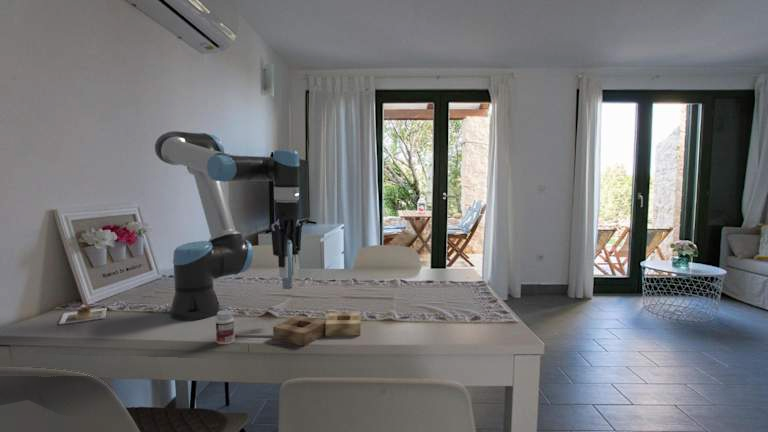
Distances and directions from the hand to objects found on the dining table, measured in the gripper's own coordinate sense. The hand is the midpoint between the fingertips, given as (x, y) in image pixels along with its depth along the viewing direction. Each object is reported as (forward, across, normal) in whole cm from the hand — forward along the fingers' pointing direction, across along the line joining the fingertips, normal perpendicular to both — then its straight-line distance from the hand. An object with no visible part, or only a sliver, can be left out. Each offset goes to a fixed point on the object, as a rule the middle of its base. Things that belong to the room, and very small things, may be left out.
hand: (287, 275), depth 135 cm
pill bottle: (+15, -21, +4) cm, 26 cm away
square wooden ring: (+14, -8, -12) cm, 20 cm away
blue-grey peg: (+4, 0, 0) cm, 4 cm away
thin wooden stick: (+15, -15, +1) cm, 21 cm away
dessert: (+17, -27, +61) cm, 69 cm away
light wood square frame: (+14, +2, -20) cm, 24 cm away
